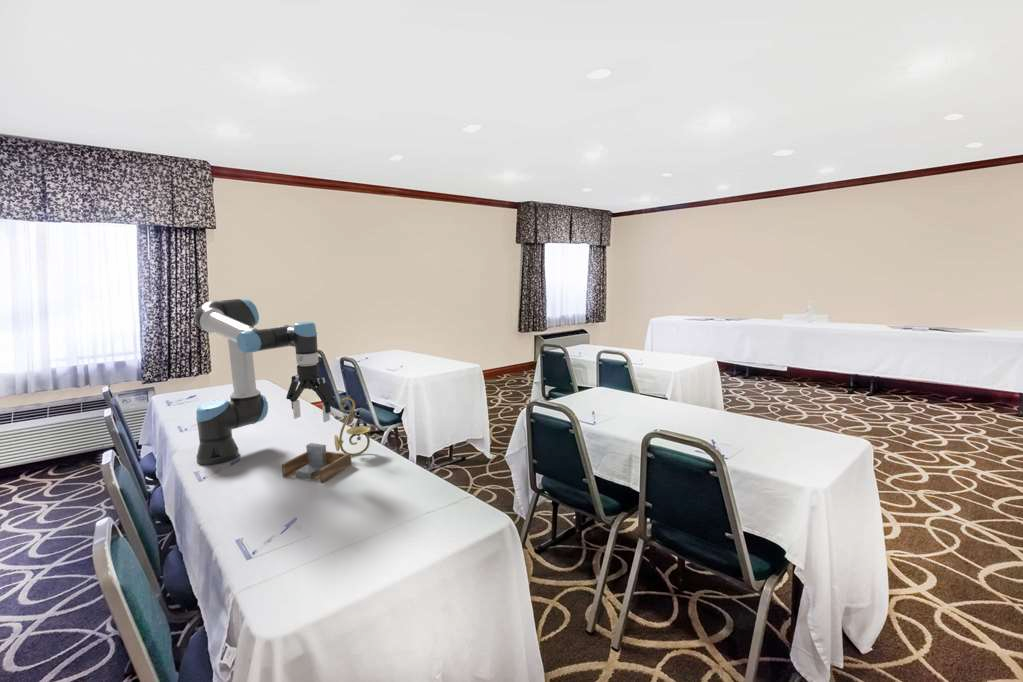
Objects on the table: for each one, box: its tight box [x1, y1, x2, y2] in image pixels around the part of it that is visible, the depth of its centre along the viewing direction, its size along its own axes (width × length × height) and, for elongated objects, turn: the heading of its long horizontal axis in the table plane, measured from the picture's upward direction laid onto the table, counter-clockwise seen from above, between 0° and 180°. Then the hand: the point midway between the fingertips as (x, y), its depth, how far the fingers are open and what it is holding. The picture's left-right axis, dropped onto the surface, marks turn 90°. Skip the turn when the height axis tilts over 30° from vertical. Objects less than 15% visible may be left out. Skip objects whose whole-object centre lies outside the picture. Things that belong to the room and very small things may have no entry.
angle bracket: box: [295, 443, 327, 480], centre depth 188 cm, size 9×7×10 cm
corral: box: [281, 450, 352, 484], centre depth 191 cm, size 18×16×5 cm
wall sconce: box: [333, 397, 371, 457], centre depth 204 cm, size 14×10×25 cm
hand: (311, 419), depth 188 cm, fingers open, 13 cm apart
